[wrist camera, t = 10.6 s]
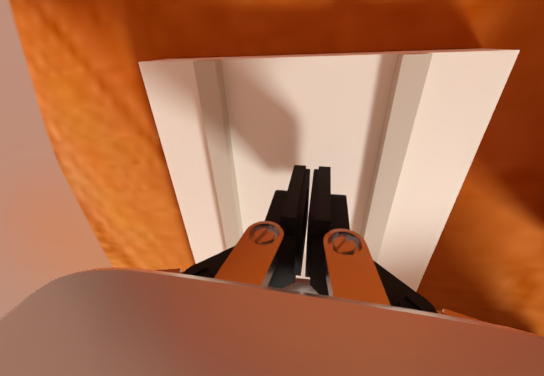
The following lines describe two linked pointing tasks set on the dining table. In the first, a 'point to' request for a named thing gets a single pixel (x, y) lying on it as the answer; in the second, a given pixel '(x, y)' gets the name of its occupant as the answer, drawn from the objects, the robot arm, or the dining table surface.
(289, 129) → the white tray
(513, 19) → the dining table surface
